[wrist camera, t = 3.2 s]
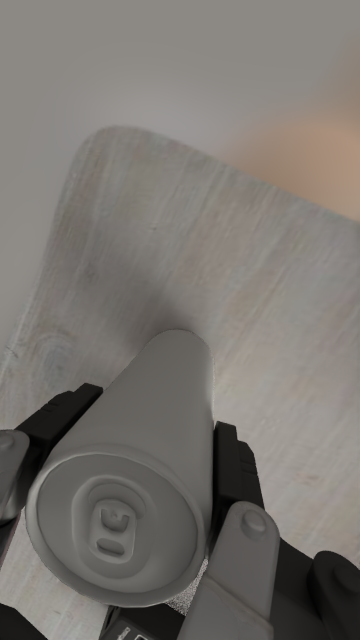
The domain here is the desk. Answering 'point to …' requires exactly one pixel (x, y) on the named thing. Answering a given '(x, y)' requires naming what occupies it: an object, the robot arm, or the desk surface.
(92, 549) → the beverage can
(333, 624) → the robot arm
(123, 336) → the desk surface
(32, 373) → the desk surface
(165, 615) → the multiport hub
